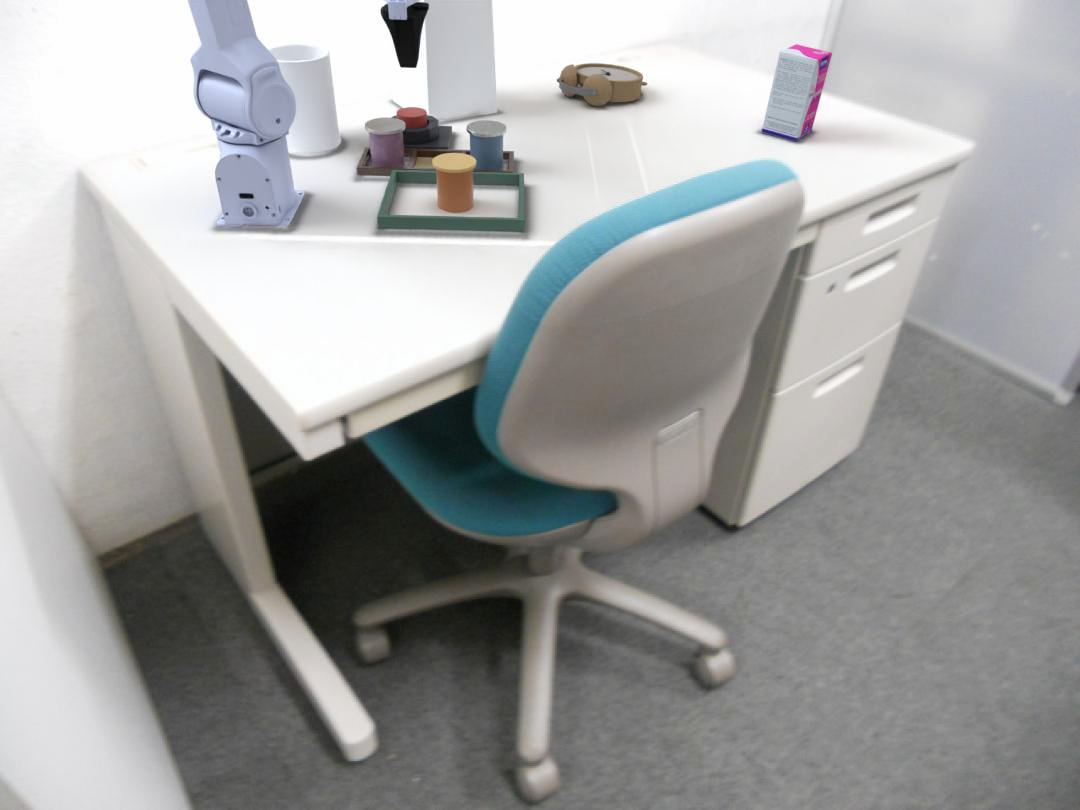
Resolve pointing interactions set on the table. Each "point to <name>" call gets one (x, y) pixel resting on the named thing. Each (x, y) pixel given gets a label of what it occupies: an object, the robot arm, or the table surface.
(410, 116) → the button
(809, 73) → the supplement box
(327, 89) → the mug
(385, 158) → the mauve pod
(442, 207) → the coffee pod
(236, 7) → the robot arm
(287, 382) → the table surface
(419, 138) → the button block
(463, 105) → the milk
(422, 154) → the pod stand
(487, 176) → the tray
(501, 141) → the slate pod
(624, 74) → the alarm clock
